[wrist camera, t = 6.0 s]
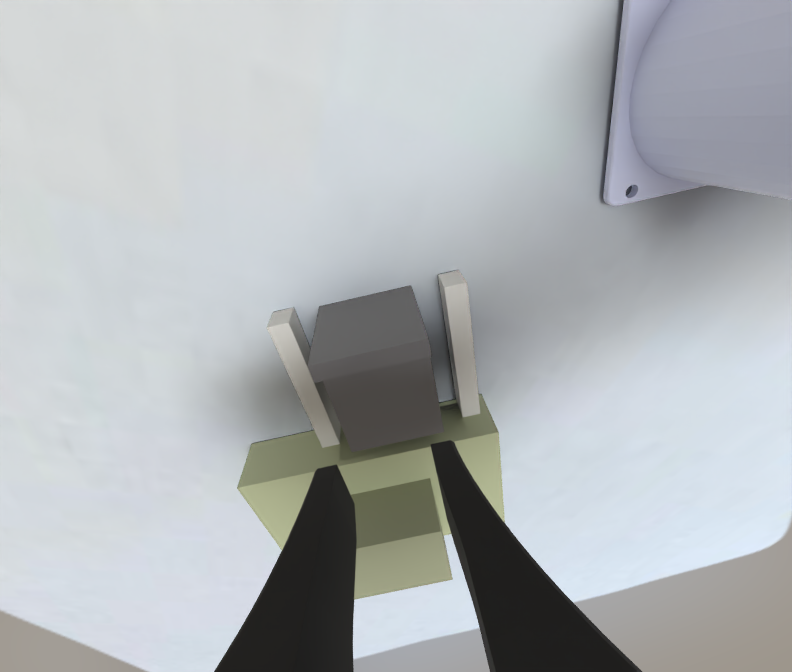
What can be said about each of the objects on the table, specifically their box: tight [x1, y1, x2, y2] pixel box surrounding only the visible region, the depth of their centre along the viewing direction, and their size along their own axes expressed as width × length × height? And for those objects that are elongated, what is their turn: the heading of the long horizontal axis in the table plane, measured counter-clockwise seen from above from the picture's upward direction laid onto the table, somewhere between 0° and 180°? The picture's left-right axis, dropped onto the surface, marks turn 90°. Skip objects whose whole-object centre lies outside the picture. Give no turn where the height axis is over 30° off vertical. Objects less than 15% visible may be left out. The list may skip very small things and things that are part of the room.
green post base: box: [237, 270, 505, 599], centre depth 19 cm, size 14×16×6 cm
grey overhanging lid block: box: [308, 285, 444, 452], centre depth 16 cm, size 4×6×5 cm
